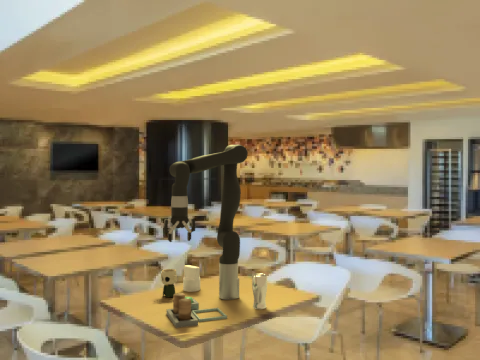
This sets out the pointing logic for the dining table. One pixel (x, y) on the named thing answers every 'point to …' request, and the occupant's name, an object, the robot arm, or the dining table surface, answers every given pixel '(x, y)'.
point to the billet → (184, 309)
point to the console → (194, 305)
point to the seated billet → (177, 302)
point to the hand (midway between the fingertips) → (179, 241)
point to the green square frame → (210, 317)
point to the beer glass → (259, 290)
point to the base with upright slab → (191, 278)
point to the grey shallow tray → (177, 323)
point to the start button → (189, 298)
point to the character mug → (169, 281)
